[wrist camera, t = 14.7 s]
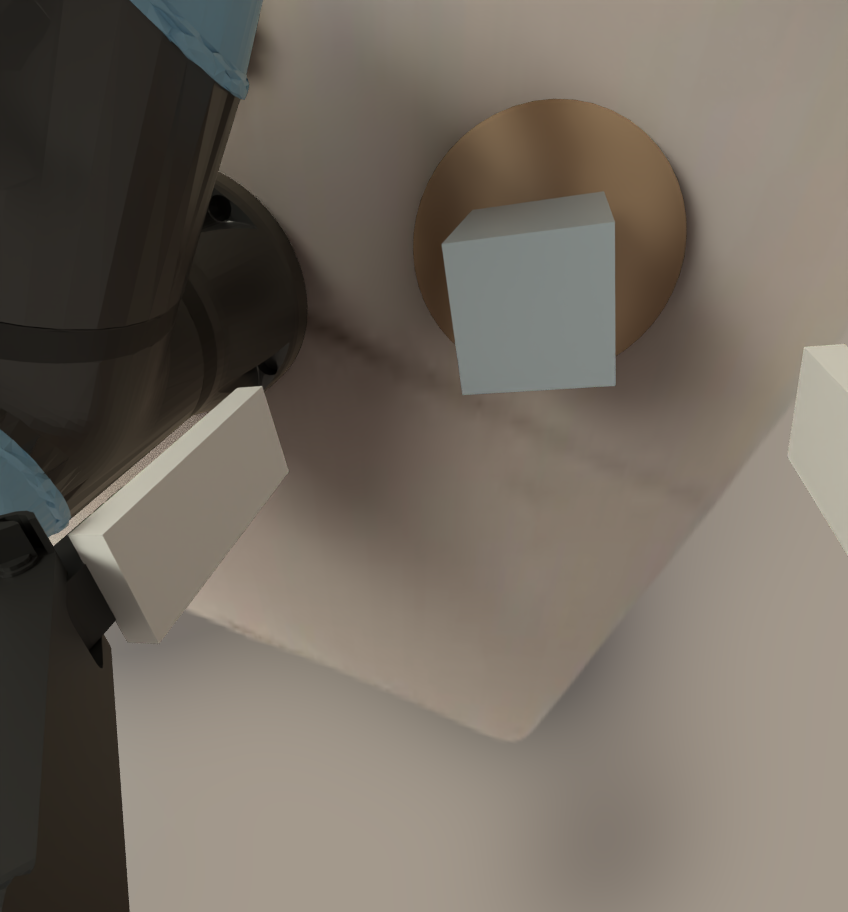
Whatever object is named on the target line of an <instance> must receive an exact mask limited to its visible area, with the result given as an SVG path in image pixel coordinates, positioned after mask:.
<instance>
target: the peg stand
mask: <svg viewBox="0 0 848 912" xmlns="http://www.w3.org/2000/svg"><path fill="white" fill-rule="evenodd" d="M602 191H604V193H605V196H606V198H607V201H608V204H609V207H610V210H611V212H612V215H613V218H614V221H615V356H617V355H618V354H619V353H621V352H622V351H624V350H625V349H627V348H628V347H629V346H631V345H632V344H633V343H634V342H635V341H636V340H637V339H639V338H640V337H641V336H642V335H643V334H644V333H645V332H646V330H647V329H648V328H649V327H650V326H651V325H652V324H653V323H654V321H655V320H656V318H657V317H658V316H659V314H660V313H661V311H662V310H663V309H664V307H665V305H666V303H667V302H668V300H669V298H670V296H671V294H672V292H673V290H674V287H675V285H676V282H677V280H678V277H679V275H680V271H681V267H682V263H683V259H684V254H685V246H686V237H687V235H686V213H685V207H684V201H683V196H682V193H681V190H680V187H679V183H678V180H677V178H676V176H675V174H674V172H673V170H672V168H671V166H670V163H669V162H668V160H667V159H666V157H665V156H664V154H663V153H662V151H661V150H660V148H659V147H658V146H657V145H656V144H655V142H654V141H653V140H652V139H651V138H650V137H649V136H648V135H647V134H646V133H645V132H644V131H643V130H641V129H640V128H639V127H638V126H636V125H635V124H634V123H632V122H631V121H630V120H628V119H627V118H625V117H623V116H621V115H619V114H618V113H616V112H614V111H612V110H610V109H607V108H604V107H601V106H599V105H596V104H593V103H588V102H583V101H578V100H568V99H548V100H539V101H532V102H528V103H524V104H521V105H517V106H513V107H511V108H509V109H506V110H504V111H501V112H499V113H497V114H495V115H493V116H491V117H490V118H488V119H486V120H485V121H483V122H481V123H479V124H478V125H477V126H475V127H474V128H473V129H472V130H470V131H469V132H468V133H466V134H465V135H464V136H463V137H462V138H461V139H460V140H459V141H458V142H457V143H456V144H455V145H454V146H453V147H452V148H451V149H450V150H449V151H448V153H447V154H446V155H445V157H444V158H443V159H442V161H441V162H440V163H439V165H438V166H437V168H436V170H435V171H434V173H433V175H432V177H431V178H430V180H429V182H428V184H427V186H426V189H425V191H424V194H423V196H422V199H421V202H420V205H419V209H418V212H417V216H416V222H415V229H414V240H413V255H414V265H415V272H416V276H417V281H418V285H419V288H420V291H421V294H422V296H423V299H424V302H425V304H426V306H427V308H428V310H429V312H430V313H431V315H432V317H433V318H434V320H435V321H436V323H437V324H438V326H439V327H440V329H441V330H442V331H443V332H444V333H445V334H446V336H447V337H448V338H449V339H450V340H451V341H452V342H453V343H454V344H455V338H454V330H453V323H452V316H451V309H450V302H449V294H448V287H447V280H446V273H445V266H444V258H443V251H442V243H443V242H444V241H445V240H446V239H447V237H448V236H449V235H450V234H451V233H452V232H453V231H454V230H455V229H456V227H457V226H458V225H459V224H460V223H461V222H462V221H463V220H464V219H465V218H466V216H467V215H468V214H469V213H470V212H471V211H472V210H475V209H483V208H490V207H497V206H504V205H511V204H518V203H525V202H532V201H539V200H546V199H553V198H560V197H567V196H574V195H581V194H588V193H595V192H602Z"/></svg>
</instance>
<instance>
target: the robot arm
mask: <svg viewBox="0 0 848 912" xmlns="http://www.w3.org/2000/svg"><path fill="white" fill-rule="evenodd" d="M262 2H263V0H0V912H129V897H128V882H127V868H126V853H125V839H124V825H123V811H122V797H121V782H120V768H119V754H118V740H117V725H116V711H115V697H114V682H113V668H112V654H111V647H110V645H109V643H108V641H107V639H106V637H105V636H104V633H105V632H106V631H107V630H108V629H109V627H110V626H111V625H112V624H113V623H114V622H115V621H116V623H117V625H118V626H119V628H120V630H121V632H122V634H123V635H124V637H125V639H126V641H127V642H130V643H148V644H149V643H150V644H159V643H160V642H161V641H162V639H163V638H164V637H165V636H166V634H167V633H168V631H169V630H170V629H171V628H172V626H173V625H174V624H175V622H176V621H177V620H178V618H179V617H180V616H181V614H182V613H183V612H184V610H185V609H186V608H187V606H188V605H189V604H190V602H191V601H192V600H193V598H194V597H195V596H196V594H197V593H198V592H199V590H200V589H201V588H202V587H203V585H204V584H205V583H206V581H207V580H208V579H209V577H210V576H211V575H212V573H213V572H214V571H215V569H216V568H217V567H218V565H219V564H220V563H221V561H222V560H223V559H224V557H225V556H226V555H227V553H228V552H229V551H230V549H231V548H232V547H233V545H234V544H235V543H236V541H237V540H238V539H239V537H240V536H241V535H242V533H243V532H244V531H245V530H246V528H247V527H248V526H249V524H250V523H251V522H252V520H253V519H254V518H255V516H256V515H257V514H258V512H259V511H260V510H261V508H262V507H263V506H264V504H265V503H266V502H267V500H268V499H269V498H270V496H271V495H272V494H273V492H274V491H275V490H276V488H277V487H278V486H279V484H280V483H281V482H282V480H283V479H284V478H285V476H286V475H287V474H288V472H289V470H288V467H287V464H286V461H285V457H284V454H283V451H282V448H281V445H280V441H279V438H278V435H277V432H276V429H275V426H274V422H273V419H272V416H271V413H270V410H269V406H268V403H267V400H266V397H265V394H264V391H266V390H267V389H268V388H269V387H271V386H272V385H273V384H274V383H275V382H276V381H277V380H278V379H279V378H280V377H281V376H282V375H283V374H284V373H285V372H286V371H287V370H288V369H289V367H290V366H291V365H292V363H293V361H294V360H295V358H296V356H297V354H298V352H299V350H300V348H301V345H302V342H303V339H304V335H305V330H306V323H307V295H306V289H305V283H304V279H303V275H302V271H301V268H300V265H299V262H298V260H297V257H296V255H295V252H294V250H293V248H292V246H291V244H290V242H289V240H288V238H287V237H286V235H285V233H284V232H283V230H282V229H281V227H280V226H279V224H278V223H277V221H276V220H275V219H274V217H273V216H272V215H271V214H270V212H269V211H268V210H267V209H266V208H265V207H264V206H263V205H262V204H261V203H260V202H259V201H258V200H257V199H256V198H255V197H254V196H253V195H252V194H251V193H250V192H249V191H247V190H246V189H245V188H244V187H242V186H241V185H240V184H238V183H237V182H235V181H234V180H232V179H231V178H229V177H227V176H225V175H224V174H222V173H220V172H218V170H219V167H220V163H221V160H222V157H223V153H224V150H225V147H226V144H227V140H228V137H229V134H230V130H231V127H232V124H233V121H234V117H235V114H236V111H237V108H238V104H239V101H240V99H243V100H245V98H246V95H247V93H248V88H249V82H248V79H247V76H246V74H247V70H248V65H249V61H250V56H251V52H252V47H253V43H254V38H255V34H256V29H257V25H258V20H259V16H260V11H261V7H262ZM209 411H210V412H209ZM204 412H209V413H208V414H207V415H206V416H204V417H203V418H202V419H201V420H200V421H199V422H197V423H196V424H195V425H194V426H193V427H192V428H191V429H189V430H188V431H187V432H186V433H185V434H184V435H182V436H181V437H180V438H179V439H178V440H177V441H176V442H174V443H173V444H172V445H171V446H170V447H169V448H167V449H166V450H165V451H164V452H163V453H162V454H161V455H159V456H158V457H157V458H156V459H155V460H154V461H152V462H151V463H150V464H149V465H148V466H147V467H146V468H144V469H143V470H142V471H141V472H140V473H139V474H137V475H136V476H135V477H134V478H133V479H132V480H131V481H129V482H128V483H127V484H126V485H125V486H123V487H122V488H120V489H119V490H118V491H117V492H116V493H115V494H113V495H112V496H111V497H110V498H109V499H108V500H106V502H105V503H103V504H102V505H101V506H100V507H98V508H97V509H96V510H95V511H94V513H93V514H90V515H89V516H88V517H87V518H86V519H84V520H83V521H82V522H81V523H80V524H79V525H78V526H76V527H75V528H74V529H73V530H72V531H71V532H69V533H68V534H67V535H66V536H65V537H64V538H63V539H61V540H60V541H59V542H58V543H57V544H56V545H54V546H53V545H52V544H51V542H50V540H49V538H48V537H49V536H51V535H53V534H56V533H59V532H60V531H62V530H63V529H64V528H66V527H67V526H68V524H69V520H70V519H71V518H72V517H74V516H75V515H76V514H77V513H78V512H80V511H81V510H82V509H83V508H84V507H85V506H87V505H88V504H89V503H90V502H91V501H92V500H94V499H95V498H96V497H97V496H98V495H99V494H101V493H102V492H103V491H104V490H105V489H107V488H108V487H109V486H110V485H111V484H112V483H114V482H115V481H116V480H117V479H118V478H119V477H121V476H122V475H123V474H124V473H125V472H127V471H128V470H129V469H130V468H131V467H132V466H134V465H135V464H136V463H137V462H138V461H139V460H141V459H142V458H143V457H144V456H145V455H147V454H148V453H149V452H150V451H151V450H152V449H154V448H155V447H156V446H157V445H158V444H159V443H161V442H162V441H163V440H164V439H165V438H166V437H168V436H169V435H170V434H171V433H172V432H174V431H175V430H176V429H177V428H178V427H179V426H181V425H182V424H183V423H184V422H185V421H186V420H187V419H189V418H190V417H191V416H192V415H196V414H200V413H204ZM787 457H788V459H789V461H790V462H791V464H792V465H793V467H794V469H795V470H796V472H797V474H798V475H799V477H800V479H801V480H802V482H803V484H804V485H805V487H806V488H807V490H808V492H809V493H810V495H811V496H812V498H813V500H814V502H815V503H816V505H817V507H818V508H819V510H820V512H821V513H822V515H823V516H824V518H825V520H826V521H827V523H828V525H829V526H830V528H831V530H832V531H833V533H834V534H835V536H836V538H837V539H838V541H839V543H840V544H841V546H842V548H843V549H844V551H845V552H846V554H847V556H848V347H847V346H846V345H845V344H838V345H825V346H811V347H804V351H803V357H802V364H801V370H800V377H799V383H798V390H797V396H796V403H795V409H794V416H793V422H792V429H791V435H790V441H789V448H788V454H787Z"/></svg>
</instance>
